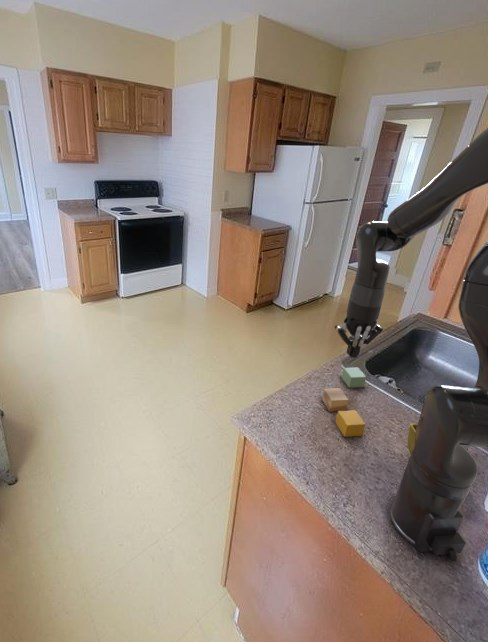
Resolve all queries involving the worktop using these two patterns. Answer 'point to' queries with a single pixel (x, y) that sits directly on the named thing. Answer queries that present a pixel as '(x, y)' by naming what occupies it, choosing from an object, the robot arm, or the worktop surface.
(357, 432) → the mustard block
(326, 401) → the maple block
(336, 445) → the worktop surface
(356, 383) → the sage block
